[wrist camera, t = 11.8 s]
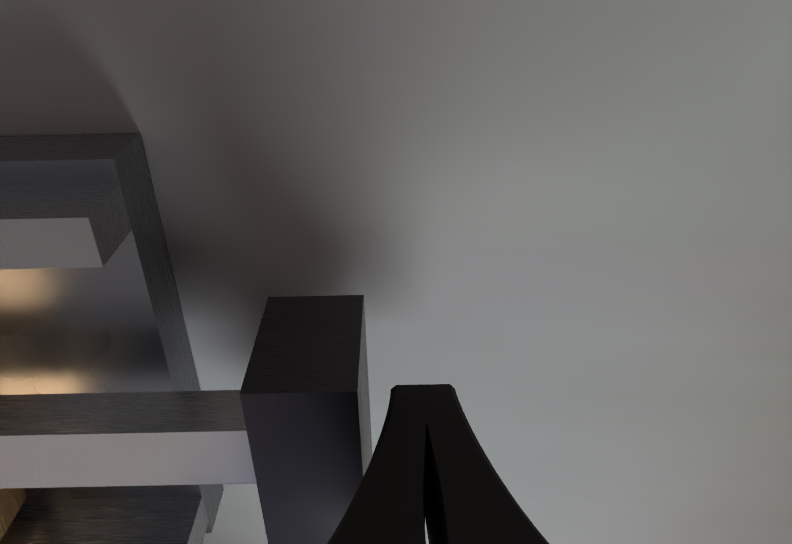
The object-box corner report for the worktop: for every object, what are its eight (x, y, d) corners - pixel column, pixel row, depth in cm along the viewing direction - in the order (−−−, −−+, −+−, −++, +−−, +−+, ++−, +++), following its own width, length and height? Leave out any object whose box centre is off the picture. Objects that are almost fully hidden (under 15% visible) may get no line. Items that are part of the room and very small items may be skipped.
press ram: (374, 489, 16) (371, 600, 14) (-70, 498, 16) (-155, 611, 14) (361, 253, 13) (354, 344, 10) (-207, 265, 13) (-357, 359, 10)
